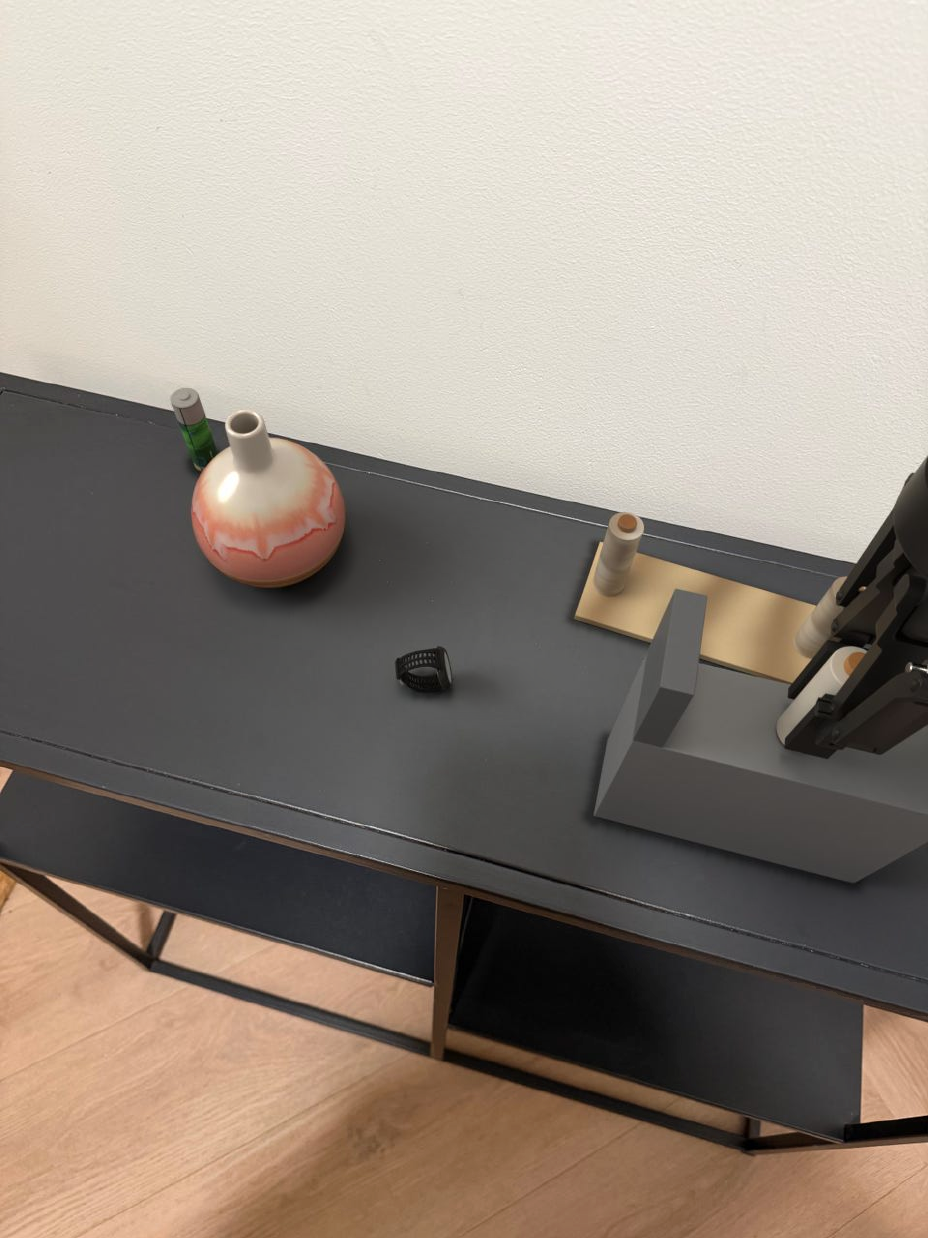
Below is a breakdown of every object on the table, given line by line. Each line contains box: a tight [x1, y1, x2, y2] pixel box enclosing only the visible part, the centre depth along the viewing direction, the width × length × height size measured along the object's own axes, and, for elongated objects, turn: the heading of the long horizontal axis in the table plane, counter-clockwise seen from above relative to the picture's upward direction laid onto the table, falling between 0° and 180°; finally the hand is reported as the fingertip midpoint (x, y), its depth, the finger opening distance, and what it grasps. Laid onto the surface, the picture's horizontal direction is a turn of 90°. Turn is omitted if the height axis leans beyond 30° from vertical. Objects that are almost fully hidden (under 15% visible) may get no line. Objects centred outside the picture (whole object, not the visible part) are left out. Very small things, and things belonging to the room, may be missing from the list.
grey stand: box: [593, 589, 928, 884], centre depth 59 cm, size 21×7×24 cm, turn 75°
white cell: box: [776, 646, 867, 753], centre depth 51 cm, size 3×3×10 cm
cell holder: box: [573, 511, 866, 685], centre depth 74 cm, size 23×9×10 cm, turn 70°
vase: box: [190, 409, 347, 589], centre depth 74 cm, size 14×14×18 cm
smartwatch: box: [394, 645, 453, 693], centre depth 72 cm, size 4×5×5 cm
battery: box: [169, 387, 219, 473], centre depth 83 cm, size 3×3×10 cm
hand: (807, 722), depth 54 cm, fingers closed on white cell, 3 cm apart
